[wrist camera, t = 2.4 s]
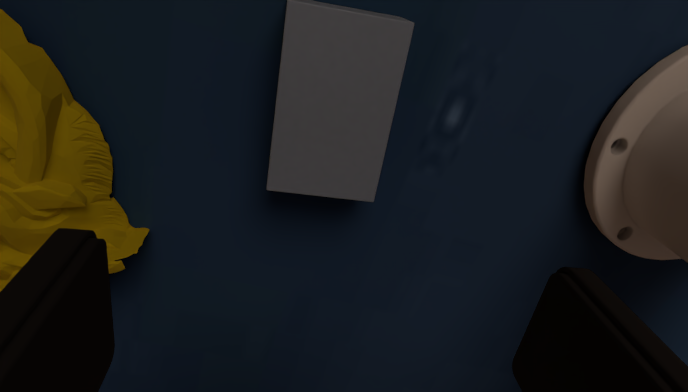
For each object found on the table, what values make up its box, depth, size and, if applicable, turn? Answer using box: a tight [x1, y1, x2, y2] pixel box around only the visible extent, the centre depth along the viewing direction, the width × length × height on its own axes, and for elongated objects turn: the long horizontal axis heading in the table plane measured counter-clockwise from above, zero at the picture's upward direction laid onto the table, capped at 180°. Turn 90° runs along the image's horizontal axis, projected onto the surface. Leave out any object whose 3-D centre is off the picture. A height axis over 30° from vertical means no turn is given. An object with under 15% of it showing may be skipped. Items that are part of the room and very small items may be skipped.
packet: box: [266, 0, 414, 202], centre depth 20 cm, size 5×8×2 cm, turn 170°
